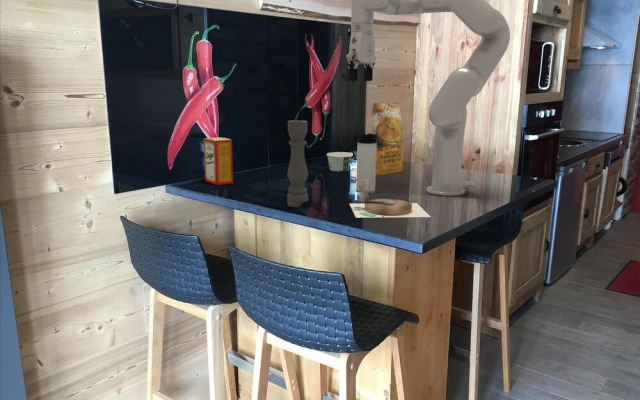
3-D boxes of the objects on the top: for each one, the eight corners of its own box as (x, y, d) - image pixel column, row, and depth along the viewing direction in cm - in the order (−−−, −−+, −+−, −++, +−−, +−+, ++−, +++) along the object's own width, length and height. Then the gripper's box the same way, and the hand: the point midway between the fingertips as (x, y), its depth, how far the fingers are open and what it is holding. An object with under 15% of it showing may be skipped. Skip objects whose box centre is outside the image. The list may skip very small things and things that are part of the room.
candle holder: (307, 202, 166) (308, 120, 160) (308, 207, 159) (308, 122, 154) (287, 202, 165) (287, 120, 160) (287, 207, 159) (286, 122, 154)
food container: (322, 168, 229) (322, 152, 227) (349, 166, 232) (349, 151, 231) (331, 172, 217) (331, 156, 216) (359, 171, 221) (359, 155, 220)
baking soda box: (205, 180, 199) (203, 137, 195) (221, 178, 202) (220, 136, 199) (216, 185, 191) (215, 139, 188) (233, 183, 195) (231, 138, 191)
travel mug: (360, 195, 176) (361, 133, 172) (353, 191, 183) (355, 131, 178) (378, 194, 178) (380, 133, 174) (371, 190, 184) (372, 131, 180)
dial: (412, 205, 156) (413, 177, 154) (410, 216, 143) (412, 186, 142) (355, 202, 159) (356, 175, 157) (349, 212, 147) (349, 183, 145)
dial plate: (416, 208, 160) (416, 202, 159) (430, 222, 144) (430, 216, 144) (349, 208, 158) (349, 202, 158) (355, 222, 143) (356, 216, 142)
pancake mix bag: (364, 174, 215) (366, 102, 208) (396, 169, 227) (399, 101, 220) (376, 176, 210) (378, 103, 203) (409, 171, 222) (412, 102, 215)
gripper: (357, 27, 175) (356, 81, 179) (384, 30, 189) (382, 81, 192) (338, 28, 179) (337, 80, 183) (365, 31, 193) (364, 80, 197)
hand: (360, 80), depth 188 cm, fingers open, 9 cm apart
